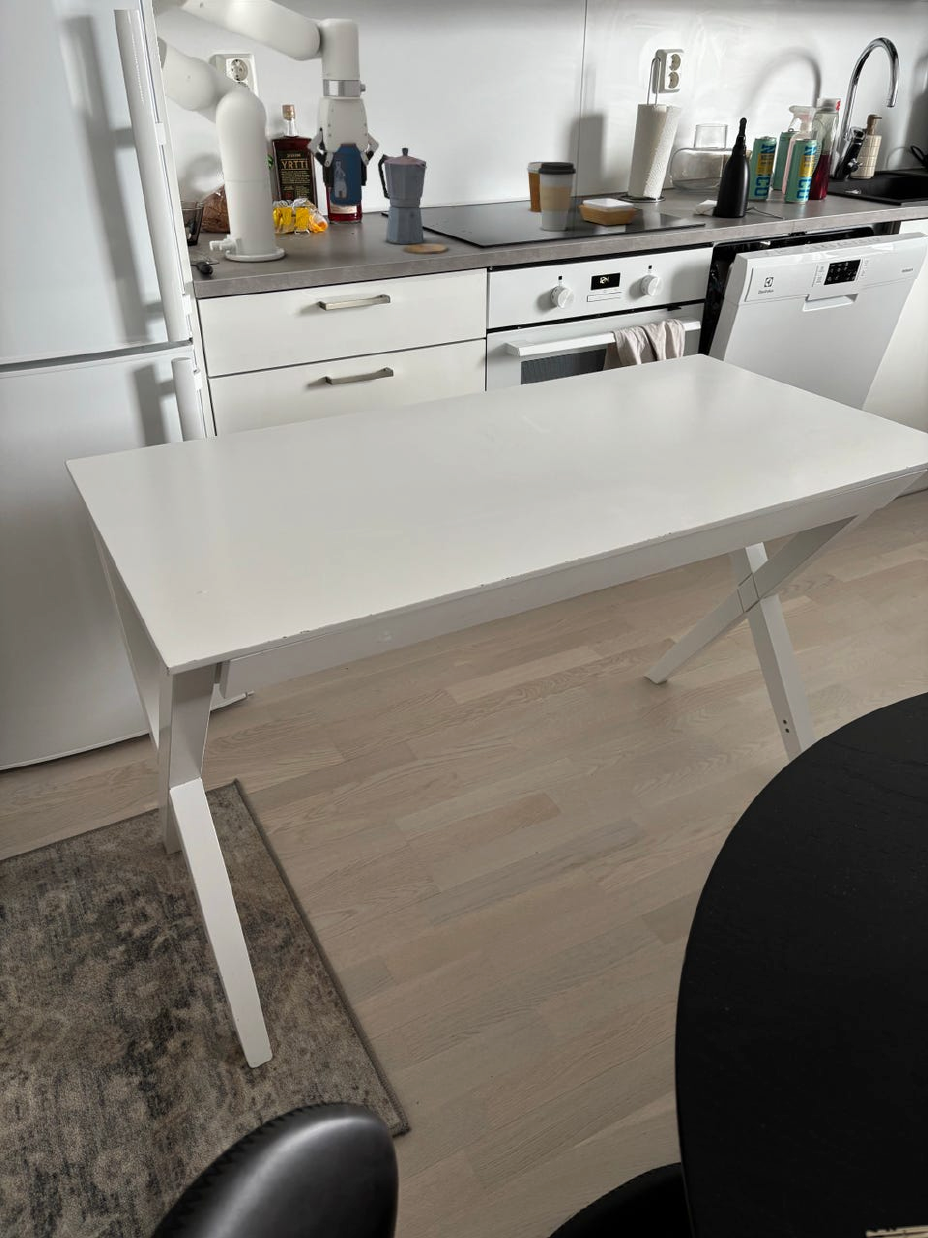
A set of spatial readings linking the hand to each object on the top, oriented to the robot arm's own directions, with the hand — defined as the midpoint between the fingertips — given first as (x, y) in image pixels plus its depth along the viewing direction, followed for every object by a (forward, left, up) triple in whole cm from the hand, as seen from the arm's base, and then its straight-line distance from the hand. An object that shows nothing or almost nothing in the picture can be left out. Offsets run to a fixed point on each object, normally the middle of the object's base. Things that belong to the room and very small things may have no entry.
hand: (345, 185), depth 198 cm
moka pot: (+18, +9, -14) cm, 25 cm away
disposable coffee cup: (+75, +31, -14) cm, 83 cm away
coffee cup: (+59, +4, -14) cm, 61 cm away
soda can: (0, 0, -4) cm, 4 cm away
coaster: (+17, -4, -14) cm, 23 cm away
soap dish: (+77, +5, -14) cm, 79 cm away
